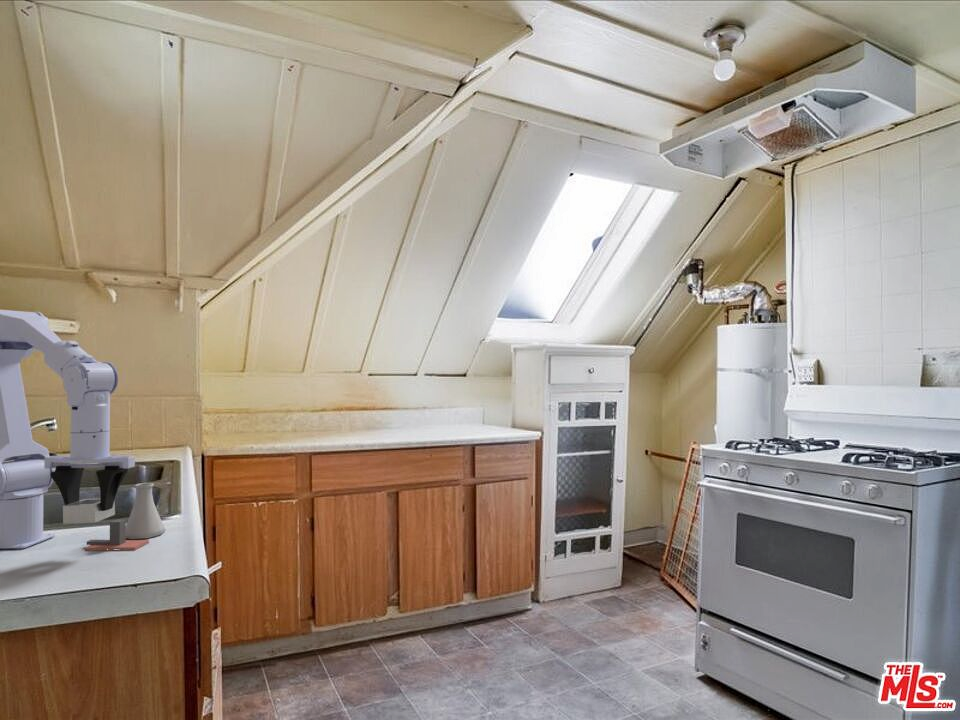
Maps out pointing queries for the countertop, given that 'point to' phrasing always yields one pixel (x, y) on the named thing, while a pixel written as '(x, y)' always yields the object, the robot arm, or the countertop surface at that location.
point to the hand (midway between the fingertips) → (89, 509)
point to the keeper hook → (116, 539)
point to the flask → (144, 515)
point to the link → (85, 511)
